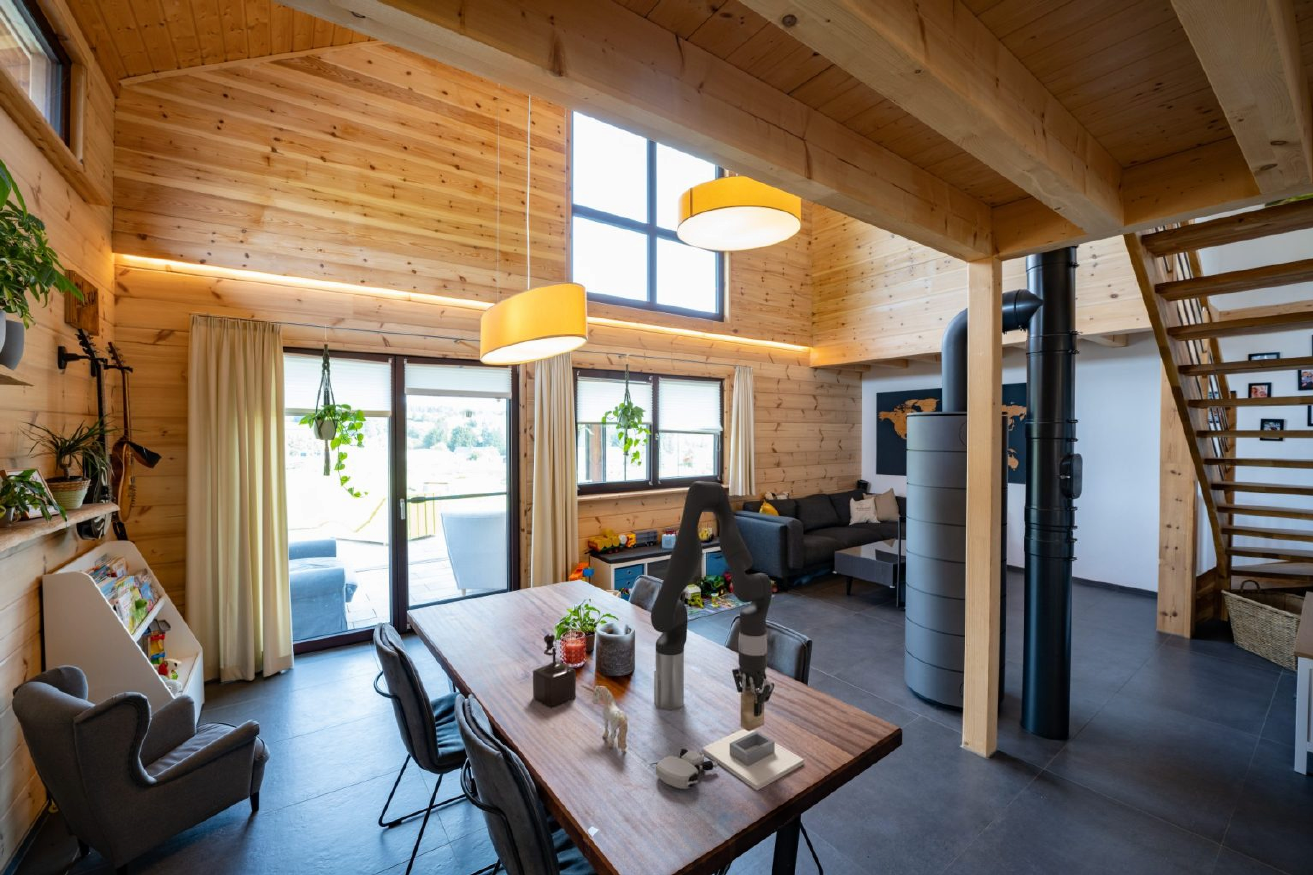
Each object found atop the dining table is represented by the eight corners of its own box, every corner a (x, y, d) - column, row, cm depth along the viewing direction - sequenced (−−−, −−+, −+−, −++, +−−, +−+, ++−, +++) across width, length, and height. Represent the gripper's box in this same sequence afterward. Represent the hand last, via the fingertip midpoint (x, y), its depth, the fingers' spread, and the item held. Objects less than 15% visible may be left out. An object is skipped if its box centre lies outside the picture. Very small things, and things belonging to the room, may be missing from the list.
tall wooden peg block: (740, 726, 144) (740, 692, 144) (755, 719, 148) (756, 686, 148) (748, 731, 142) (749, 697, 142) (764, 724, 145) (764, 691, 146)
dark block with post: (578, 697, 178) (578, 642, 178) (550, 709, 170) (550, 652, 170) (550, 682, 189) (551, 631, 189) (523, 693, 181) (523, 639, 181)
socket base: (757, 790, 131) (757, 773, 131) (702, 752, 147) (702, 736, 147) (803, 763, 142) (803, 748, 142) (748, 730, 158) (748, 716, 158)
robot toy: (682, 757, 147) (646, 780, 135) (683, 740, 147) (647, 761, 135) (720, 775, 139) (685, 801, 127) (721, 757, 139) (686, 781, 127)
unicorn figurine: (599, 721, 163) (599, 677, 163) (642, 749, 149) (642, 700, 149) (580, 730, 158) (580, 684, 158) (622, 759, 144) (622, 709, 144)
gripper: (724, 643, 148) (724, 706, 148) (763, 660, 137) (763, 728, 137) (743, 637, 153) (743, 699, 153) (782, 653, 142) (782, 719, 142)
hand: (752, 712), depth 145 cm, fingers closed on tall wooden peg block, 3 cm apart
